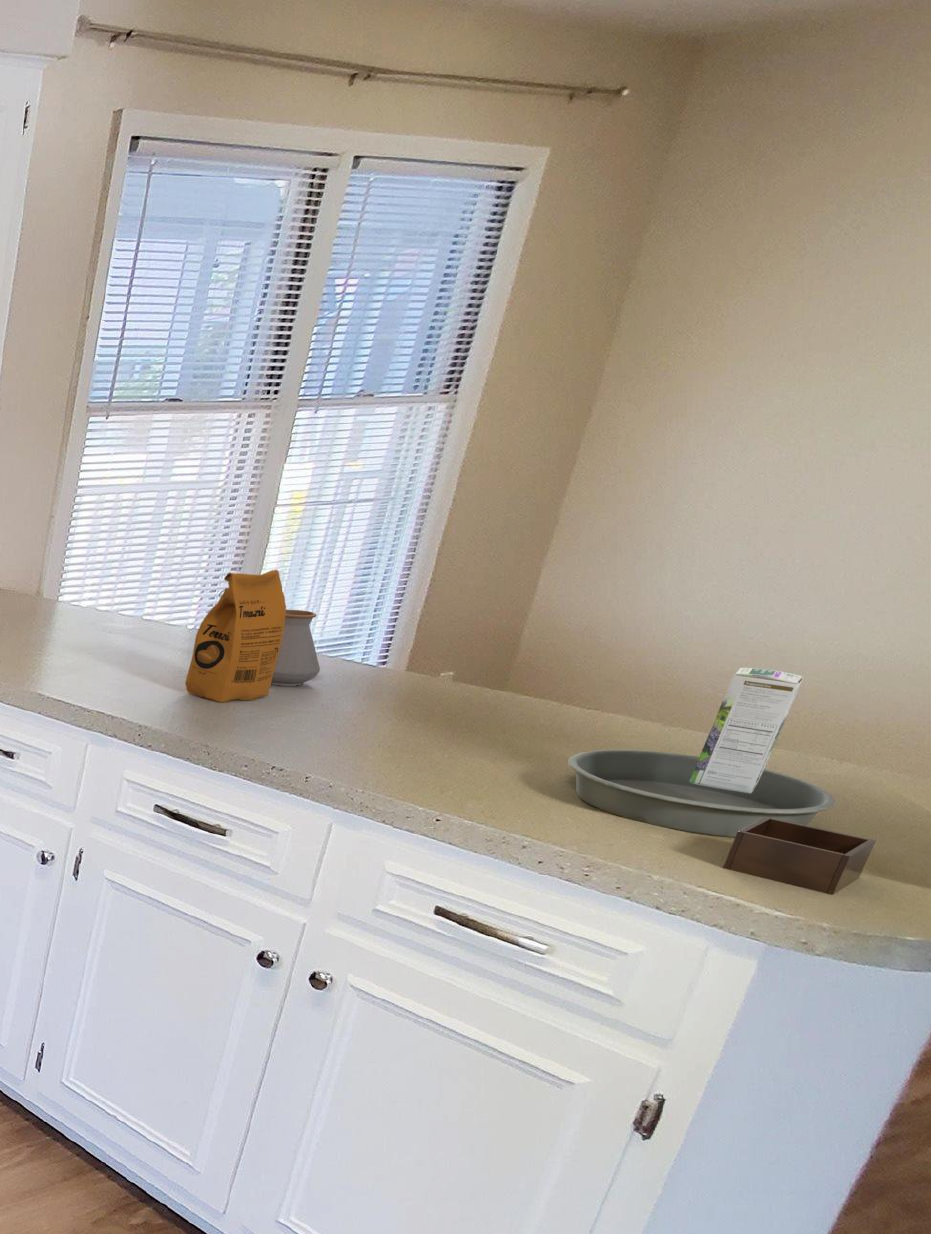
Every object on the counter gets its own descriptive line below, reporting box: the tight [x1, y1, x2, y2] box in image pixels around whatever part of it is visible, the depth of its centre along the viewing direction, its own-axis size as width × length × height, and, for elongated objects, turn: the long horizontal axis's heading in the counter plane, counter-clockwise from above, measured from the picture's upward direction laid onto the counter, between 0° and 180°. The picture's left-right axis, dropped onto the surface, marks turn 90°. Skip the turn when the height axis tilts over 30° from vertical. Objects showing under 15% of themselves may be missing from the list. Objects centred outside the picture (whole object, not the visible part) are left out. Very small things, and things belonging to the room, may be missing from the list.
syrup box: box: [689, 667, 804, 793], centre depth 146 cm, size 6×6×14 cm
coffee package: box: [184, 569, 287, 703], centre depth 205 cm, size 10×12×22 cm
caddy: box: [722, 817, 876, 896], centre depth 130 cm, size 9×9×6 cm
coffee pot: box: [218, 587, 321, 687], centre depth 219 cm, size 21×12×15 cm, turn 17°
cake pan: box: [567, 749, 836, 838], centre depth 152 cm, size 25×25×4 cm
